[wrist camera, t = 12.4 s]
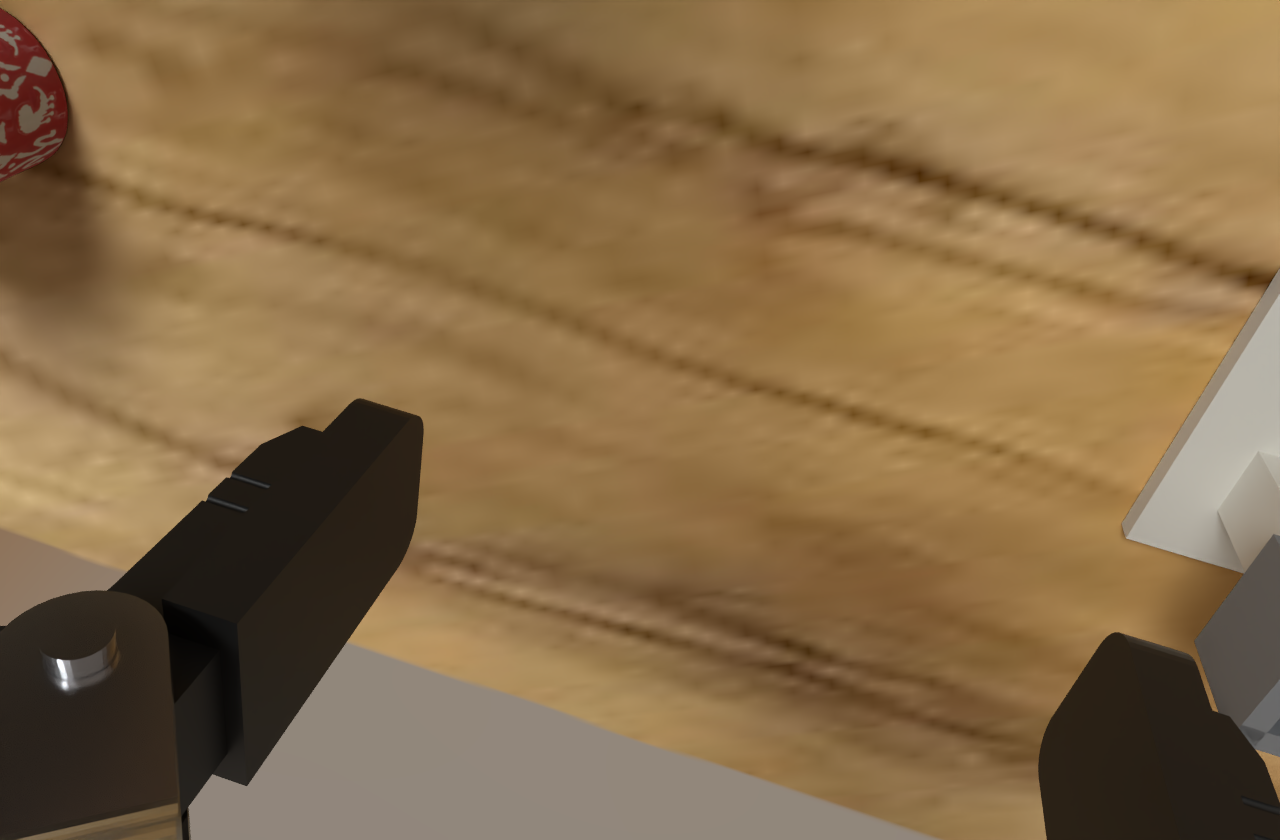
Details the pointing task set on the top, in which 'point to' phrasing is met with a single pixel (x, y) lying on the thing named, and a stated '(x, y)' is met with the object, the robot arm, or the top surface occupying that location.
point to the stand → (1231, 519)
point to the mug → (27, 100)
